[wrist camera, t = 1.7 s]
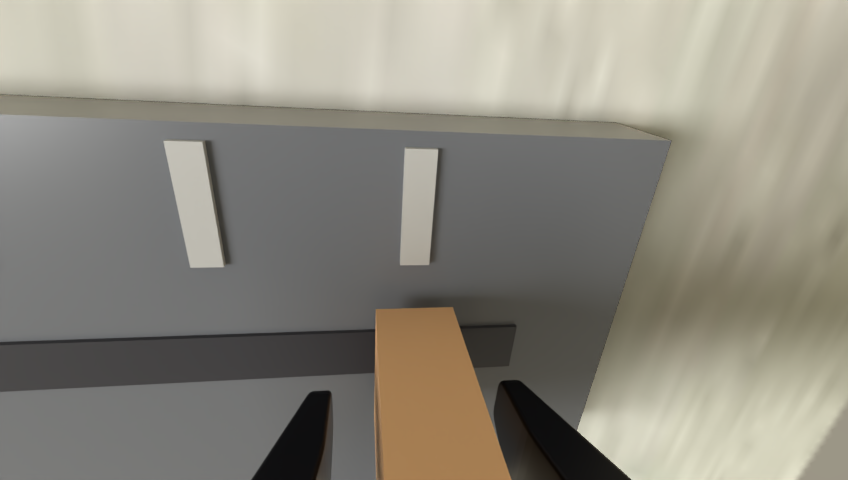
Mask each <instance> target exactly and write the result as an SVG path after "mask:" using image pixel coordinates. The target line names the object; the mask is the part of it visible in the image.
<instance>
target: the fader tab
mask: <svg viewBox="0 0 848 480" xmlns="http://www.w3.org/2000/svg"><path fill="white" fill-rule="evenodd" d="M374 425H375V457H376V480H511V477H510V474H509V471H508V468H507V465H506V462H505V460H504V457H503V454H502V451H501V448H500V445H499V442H498V439H497V436H496V433H495V430H494V427H493V424H492V421H491V418H490V415H489V412H488V409H487V407H486V404H485V401H484V398H483V395H482V392H481V389H480V386H479V383H478V380H477V377H476V374H475V371H474V368H473V365H472V362H471V359H470V356H469V354H468V351H467V348H466V345H465V342H464V339H463V336H462V333H461V330H460V327H459V324H458V321H457V318H456V315H455V312H454V309H453V307H437V308H401V309H376V325H375V391H374Z"/></svg>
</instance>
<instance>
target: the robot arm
mask: <svg viewBox="0 0 848 480" xmlns="http://www.w3.org/2000/svg"><path fill="white" fill-rule="evenodd" d="M493 415H494V423H495V427H496V432H497V436H498V441H499V445H500V448H501V451H502V454H503V457H504V460H505V462H506V465H507V468H508V471H509V474H510V477H511V480H631V479H630V478H629V477H628V476H627V475H626V474H624V473H623V472H622V471H621V470H620V469H619V468H618V467H617V466H616V465H614V464H613V463H612V462H611V461H610V460H609V459H608V458H607V457H605V456H604V455H603V454H602V453H601V452H600V451H599V450H598V449H597V448H595V447H594V446H593V445H592V444H591V443H590V442H589V441H588V440H586V439H585V438H584V437H583V436H582V435H581V434H580V433H579V432H578V431H576V430H575V429H574V428H573V427H572V426H571V425H570V424H569V423H567V422H566V421H565V420H564V419H563V418H562V417H561V416H560V415H558V414H557V413H556V412H555V411H554V410H553V409H552V408H551V407H550V406H548V405H547V404H546V403H545V402H544V401H543V400H542V399H541V398H539V397H538V396H537V395H536V394H535V393H534V392H533V391H532V390H531V389H529V388H528V387H527V386H526V385H525V384H524V383H523V382H521V381H519V380H503V381H501V382H500V383H499V385H498V389H497V394H496V399H495V404H494V410H493ZM332 448H333V403H332V393H331V391H329V390H325V391H311V392H310V393H309V394H308V395H307V396H306V398H305V399H304V401H303V402H302V404H301V405H300V407H299V408H298V410H297V411H296V413H295V414H294V416H293V417H292V419H291V420H290V422H289V423H288V425H287V426H286V428H285V429H284V431H283V432H282V434H281V435H280V437H279V438H278V440H277V441H276V443H275V444H274V446H273V447H272V449H271V450H270V452H269V453H268V455H267V456H266V458H265V459H264V461H263V463H262V464H261V466H260V467H259V469H258V470H257V472H256V473H255V475H254V476H253V478H252V479H251V480H331V470H332Z"/></svg>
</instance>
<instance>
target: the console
mask: <svg viewBox="0 0 848 480" xmlns="http://www.w3.org/2000/svg"><path fill="white" fill-rule="evenodd" d="M670 144H671V140H668V139H665V138H662V137H659V136H655V135H652V134H649V133H646V132H643V131H640V130H637V129H634V128H631V127H628V126H624V125H621V124H618V123H614V122H592V121H570V120H548V119H526V118H504V117H482V116H460V115H438V114H416V113H394V112H372V111H350V110H328V109H306V108H284V107H262V106H240V105H218V104H196V103H175V102H153V101H131V100H109V99H87V98H65V97H43V96H21V95H0V480H251V479H252V478H253V476H254V475H255V473H256V472H257V470H258V469H259V467H260V466H261V464H262V463H263V461H264V459H265V458H266V456H267V455H268V453H269V452H270V450H271V449H272V447H273V446H274V444H275V443H276V441H277V440H278V438H279V437H280V435H281V434H282V432H283V431H284V429H285V428H286V426H287V425H288V423H289V422H290V420H291V419H292V417H293V416H294V414H295V413H296V411H297V410H298V408H299V407H300V405H301V404H302V402H303V401H304V399H305V398H306V396H307V395H308V394H309V393H310V392H311V391H325V390H329V391H331V393H332V403H333V448H332V470H331V480H376V457H375V425H374V391H375V325H376V309H401V308H437V307H453V309H454V312H455V315H456V318H457V321H458V324H459V327H460V330H461V333H462V336H463V339H464V342H465V345H466V348H467V351H468V354H469V356H470V359H471V362H472V365H473V368H474V371H475V374H476V377H477V380H478V383H479V386H480V389H481V392H482V395H483V398H484V401H485V404H486V407H487V409H488V412H489V415H490V418H491V421H492V424H493V427H494V430H495V433H496V436H497V432H496V427H495V423H494V415H493V410H494V404H495V399H496V394H497V389H498V385H499V383H500V382H501V381H503V380H519V381H521V382H523V383H524V384H525V385H526V386H527V387H528V388H529V389H531V390H532V391H533V392H534V393H535V394H536V395H537V396H538V397H539V398H541V399H542V400H543V401H544V402H545V403H546V404H547V405H548V406H550V407H551V408H552V409H553V410H554V411H555V412H556V413H557V414H558V415H560V416H561V417H562V418H563V419H564V420H565V421H566V422H567V423H569V424H570V425H571V426H572V427H573V428H574V429H575V430H576V431H577V428H578V425H579V422H580V419H581V416H582V413H583V410H584V407H585V404H586V401H587V398H588V395H589V392H590V388H591V385H592V382H593V379H594V376H595V373H596V370H597V367H598V364H599V361H600V358H601V355H602V352H603V349H604V346H605V343H606V340H607V337H608V333H609V330H610V327H611V324H612V321H613V318H614V315H615V312H616V309H617V306H618V303H619V300H620V297H621V294H622V291H623V288H624V285H625V281H626V278H627V275H628V272H629V269H630V266H631V263H632V260H633V257H634V254H635V251H636V248H637V245H638V242H639V239H640V236H641V233H642V230H643V226H644V223H645V220H646V217H647V214H648V211H649V208H650V205H651V202H652V199H653V196H654V193H655V190H656V187H657V184H658V181H659V178H660V174H661V171H662V168H663V165H664V162H665V159H666V156H667V153H668V150H669V147H670ZM497 439H498V436H497ZM498 442H499V441H498Z"/></svg>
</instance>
